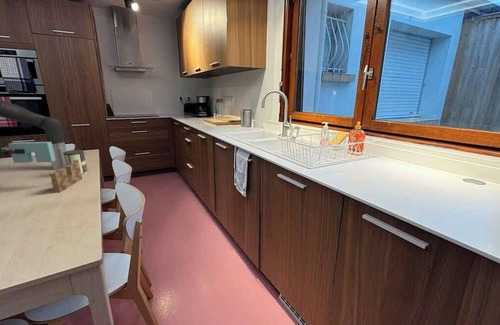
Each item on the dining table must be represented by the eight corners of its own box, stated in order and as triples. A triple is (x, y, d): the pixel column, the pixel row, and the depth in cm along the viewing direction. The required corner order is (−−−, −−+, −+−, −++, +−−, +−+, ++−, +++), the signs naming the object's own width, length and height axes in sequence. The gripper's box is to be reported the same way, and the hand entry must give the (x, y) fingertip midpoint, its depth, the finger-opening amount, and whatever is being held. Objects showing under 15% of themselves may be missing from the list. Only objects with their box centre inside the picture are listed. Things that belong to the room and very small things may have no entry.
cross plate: (18, 161, 125) (13, 142, 122) (55, 160, 127) (51, 141, 124) (13, 163, 122) (8, 143, 119) (51, 161, 124) (47, 143, 121)
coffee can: (81, 170, 156) (77, 149, 152) (91, 172, 151) (87, 150, 147) (64, 174, 147) (58, 152, 143) (74, 177, 142) (69, 154, 139)
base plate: (77, 179, 139) (74, 162, 136) (82, 178, 139) (78, 162, 137) (54, 192, 120) (49, 173, 117) (59, 192, 120) (55, 173, 117)
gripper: (-27, 147, 113) (13, 146, 115) (-1, 141, 126) (35, 140, 128) (-22, 162, 115) (17, 161, 117) (4, 155, 128) (38, 154, 130)
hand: (26, 150), depth 122 cm, fingers closed on cross plate, 3 cm apart
